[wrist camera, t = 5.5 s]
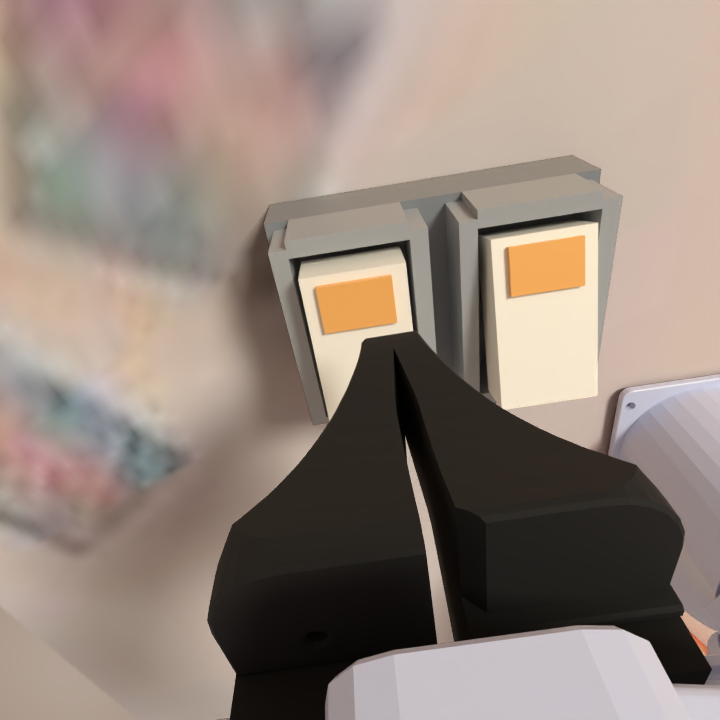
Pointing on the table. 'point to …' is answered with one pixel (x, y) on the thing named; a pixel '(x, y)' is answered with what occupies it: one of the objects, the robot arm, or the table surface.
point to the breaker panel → (436, 248)
